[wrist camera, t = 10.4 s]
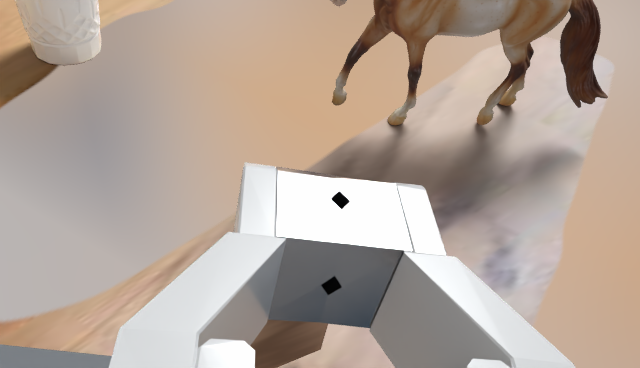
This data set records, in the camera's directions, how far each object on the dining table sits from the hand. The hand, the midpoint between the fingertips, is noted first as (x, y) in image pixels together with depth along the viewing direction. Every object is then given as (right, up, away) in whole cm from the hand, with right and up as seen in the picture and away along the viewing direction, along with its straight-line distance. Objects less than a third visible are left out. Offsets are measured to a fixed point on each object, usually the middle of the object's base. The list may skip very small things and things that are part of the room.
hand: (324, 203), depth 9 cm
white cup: (-27, +15, +49) cm, 58 cm away
